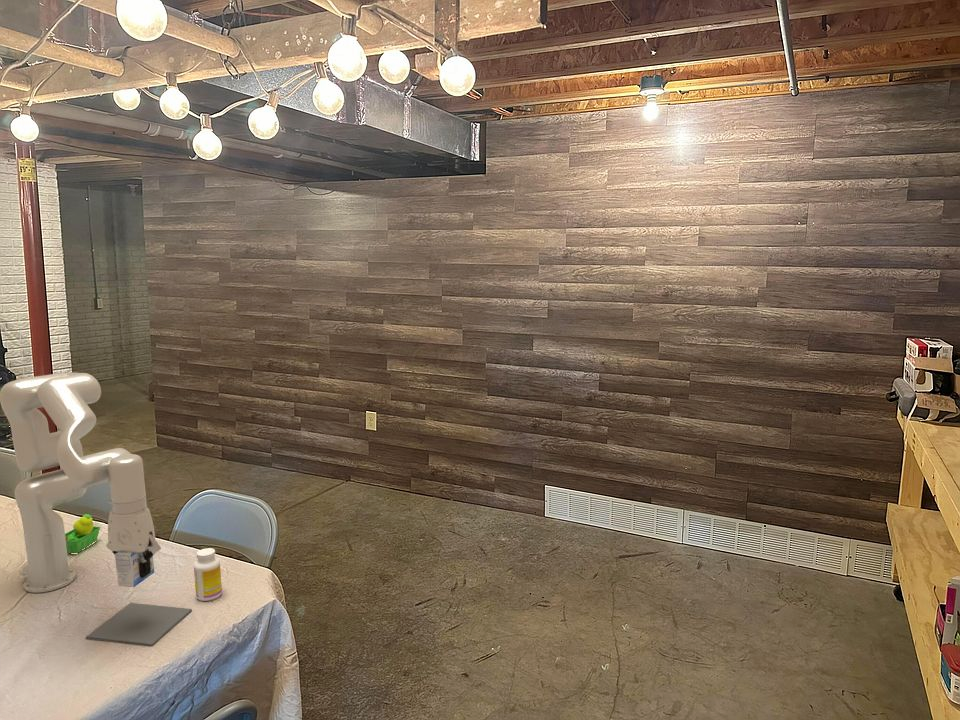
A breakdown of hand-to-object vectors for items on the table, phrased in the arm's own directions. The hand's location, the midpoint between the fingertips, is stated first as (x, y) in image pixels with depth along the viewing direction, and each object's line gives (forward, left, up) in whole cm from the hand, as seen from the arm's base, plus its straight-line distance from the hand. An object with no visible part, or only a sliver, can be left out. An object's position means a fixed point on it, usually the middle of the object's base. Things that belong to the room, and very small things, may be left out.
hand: (136, 573), depth 167 cm
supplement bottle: (+9, +16, -14) cm, 23 cm away
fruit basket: (-48, +36, -14) cm, 62 cm away
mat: (0, 0, -14) cm, 14 cm away
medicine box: (0, 0, -2) cm, 2 cm away
